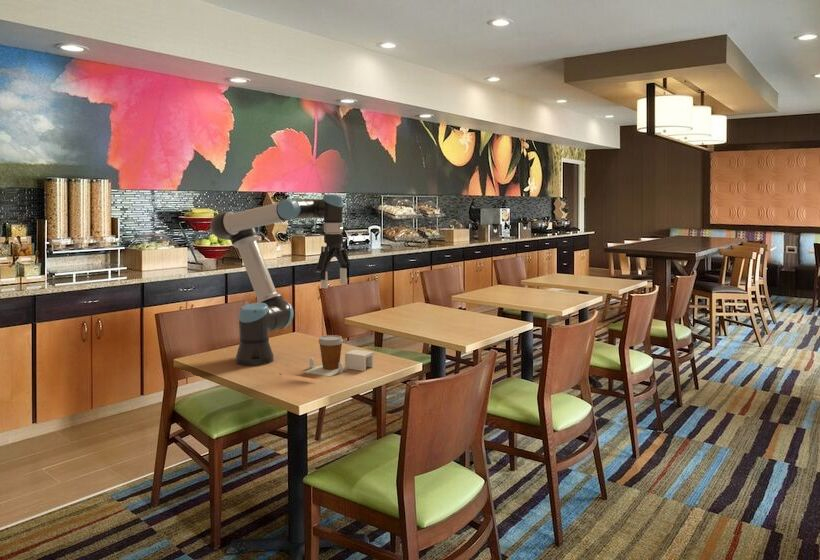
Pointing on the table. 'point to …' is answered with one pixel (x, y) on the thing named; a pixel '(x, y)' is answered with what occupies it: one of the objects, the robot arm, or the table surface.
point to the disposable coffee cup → (330, 351)
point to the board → (321, 371)
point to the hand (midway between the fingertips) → (334, 286)
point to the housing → (358, 360)
